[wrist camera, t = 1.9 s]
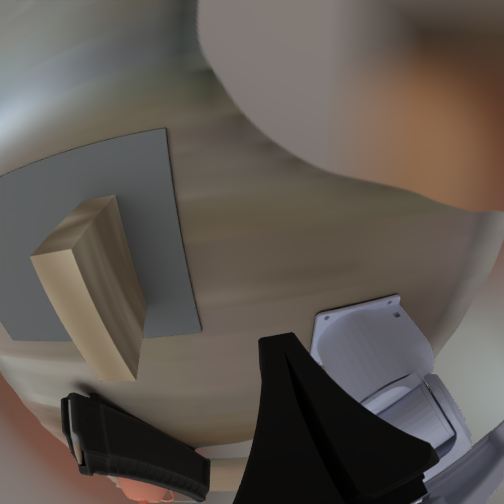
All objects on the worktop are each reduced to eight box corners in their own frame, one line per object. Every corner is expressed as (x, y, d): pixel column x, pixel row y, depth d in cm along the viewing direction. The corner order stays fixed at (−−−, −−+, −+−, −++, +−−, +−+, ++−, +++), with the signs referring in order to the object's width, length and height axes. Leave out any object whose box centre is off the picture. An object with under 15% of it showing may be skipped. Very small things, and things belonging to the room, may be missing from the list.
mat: (165, 127, 14) (165, 128, 14) (201, 330, 22) (201, 332, 22) (-49, 202, 11) (-51, 203, 11) (14, 338, 19) (13, 340, 19)
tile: (115, 194, 15) (71, 249, 9) (147, 306, 20) (136, 381, 14) (82, 201, 15) (29, 256, 9) (118, 309, 19) (100, 381, 13)
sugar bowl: (116, 459, 39) (116, 499, 30) (179, 468, 44) (183, 507, 35) (117, 469, 44) (117, 503, 35) (171, 477, 48) (174, 510, 40)
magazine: (222, 496, 33) (96, 528, 11) (206, 498, 33) (77, 522, 11) (199, 418, 44) (73, 381, 22) (185, 421, 45) (58, 385, 22)
